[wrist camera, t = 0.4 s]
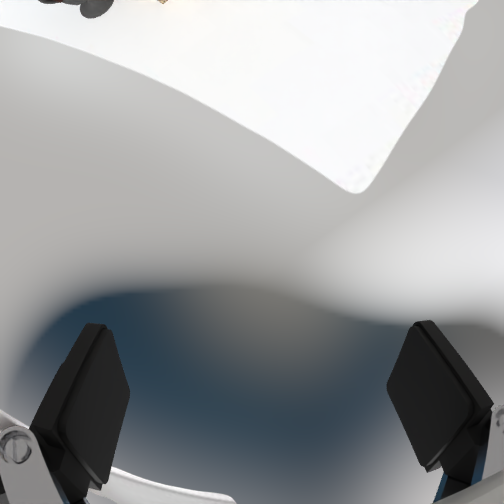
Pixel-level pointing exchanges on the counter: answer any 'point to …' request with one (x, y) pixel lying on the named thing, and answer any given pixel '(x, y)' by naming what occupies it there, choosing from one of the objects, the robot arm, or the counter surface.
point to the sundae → (86, 6)
